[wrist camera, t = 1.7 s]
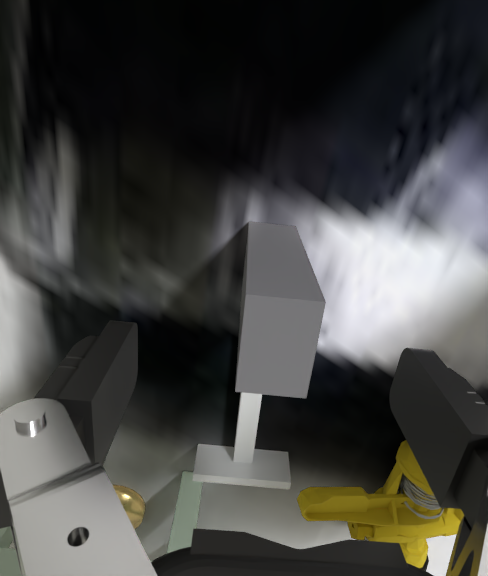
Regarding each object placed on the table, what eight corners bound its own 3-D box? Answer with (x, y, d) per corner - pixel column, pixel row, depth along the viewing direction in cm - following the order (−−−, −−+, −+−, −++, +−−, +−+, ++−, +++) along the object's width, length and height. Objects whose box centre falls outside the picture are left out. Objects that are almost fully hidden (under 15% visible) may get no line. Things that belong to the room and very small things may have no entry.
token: (146, 484, 28) (142, 496, 27) (146, 522, 30) (143, 534, 29) (90, 479, 28) (84, 491, 27) (93, 517, 30) (88, 529, 29)
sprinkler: (292, 642, 27) (311, 494, 21) (280, 578, 31) (294, 436, 24) (546, 606, 29) (635, 462, 23) (508, 551, 33) (574, 413, 27)
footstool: (203, 473, 27) (184, 605, 20) (197, 548, 30) (179, 686, 23) (27, 457, 27) (-58, 585, 19) (40, 535, 30) (-29, 670, 23)
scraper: (330, 229, 20) (385, 307, 12) (286, 458, 26) (302, 614, 18) (213, 217, 20) (185, 288, 12) (197, 450, 26) (172, 603, 18)
